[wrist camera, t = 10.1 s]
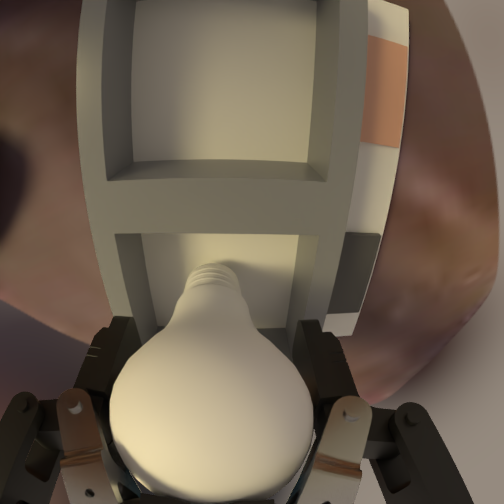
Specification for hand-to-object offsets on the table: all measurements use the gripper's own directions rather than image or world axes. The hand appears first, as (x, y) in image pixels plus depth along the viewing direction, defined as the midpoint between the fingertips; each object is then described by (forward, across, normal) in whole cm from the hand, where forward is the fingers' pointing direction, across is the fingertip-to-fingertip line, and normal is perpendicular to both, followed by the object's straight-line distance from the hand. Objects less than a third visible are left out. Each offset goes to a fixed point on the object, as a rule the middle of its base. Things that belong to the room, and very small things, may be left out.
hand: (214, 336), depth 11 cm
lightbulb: (+4, 0, 0) cm, 4 cm away
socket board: (+5, -2, -5) cm, 7 cm away
